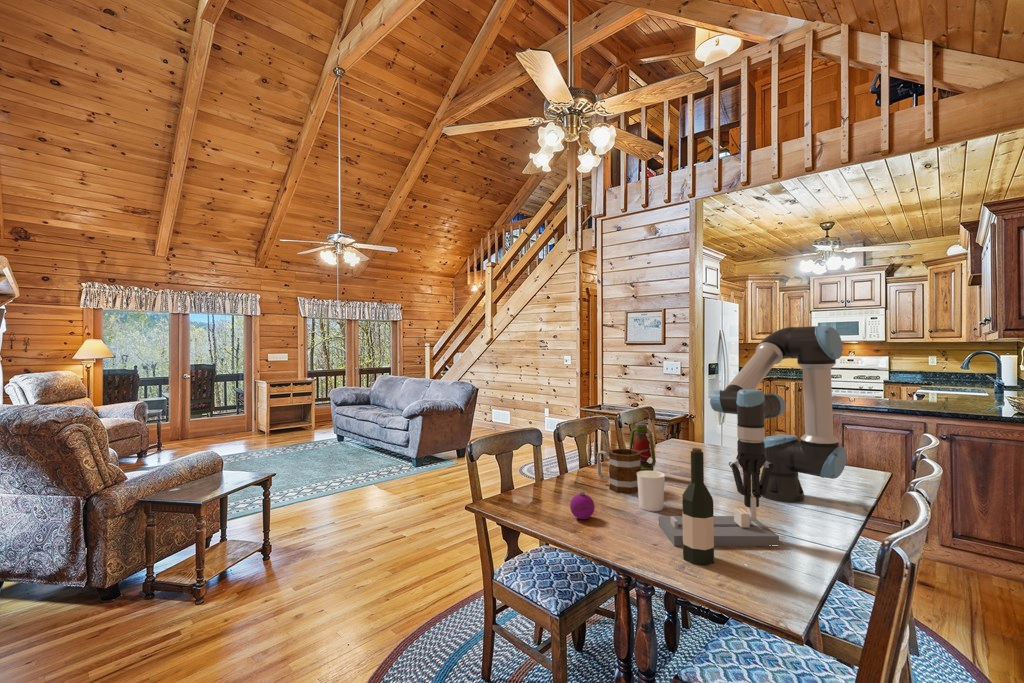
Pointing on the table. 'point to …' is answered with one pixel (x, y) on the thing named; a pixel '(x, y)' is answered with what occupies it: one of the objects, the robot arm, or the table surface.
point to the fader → (741, 517)
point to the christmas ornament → (582, 506)
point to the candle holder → (651, 490)
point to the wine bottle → (698, 516)
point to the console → (723, 532)
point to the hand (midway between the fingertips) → (751, 517)
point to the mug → (622, 469)
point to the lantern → (643, 443)
